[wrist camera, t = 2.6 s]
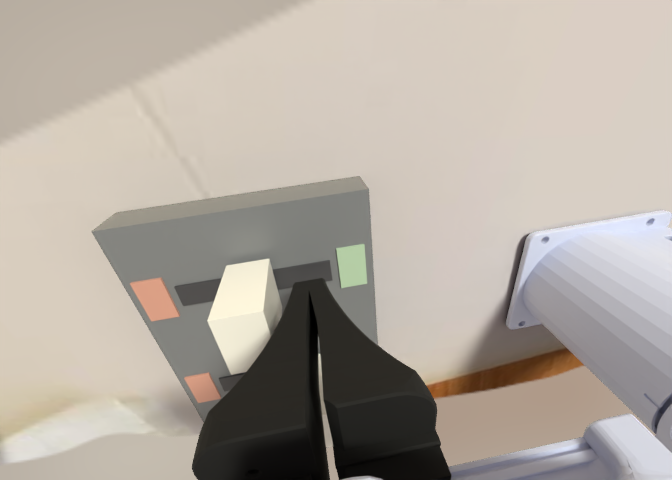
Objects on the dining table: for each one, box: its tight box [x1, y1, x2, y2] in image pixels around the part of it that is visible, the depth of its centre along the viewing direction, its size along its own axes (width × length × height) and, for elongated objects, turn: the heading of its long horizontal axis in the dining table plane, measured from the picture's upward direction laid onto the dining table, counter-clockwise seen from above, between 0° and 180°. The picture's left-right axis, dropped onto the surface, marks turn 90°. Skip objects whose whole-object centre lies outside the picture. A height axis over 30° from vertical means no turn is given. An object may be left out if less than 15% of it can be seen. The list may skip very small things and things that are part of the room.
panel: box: [92, 176, 378, 422], centre depth 17 cm, size 12×15×2 cm
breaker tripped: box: [207, 259, 282, 375], centre depth 13 cm, size 2×3×4 cm, turn 6°
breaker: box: [318, 354, 333, 448], centre depth 16 cm, size 2×3×4 cm, turn 7°
